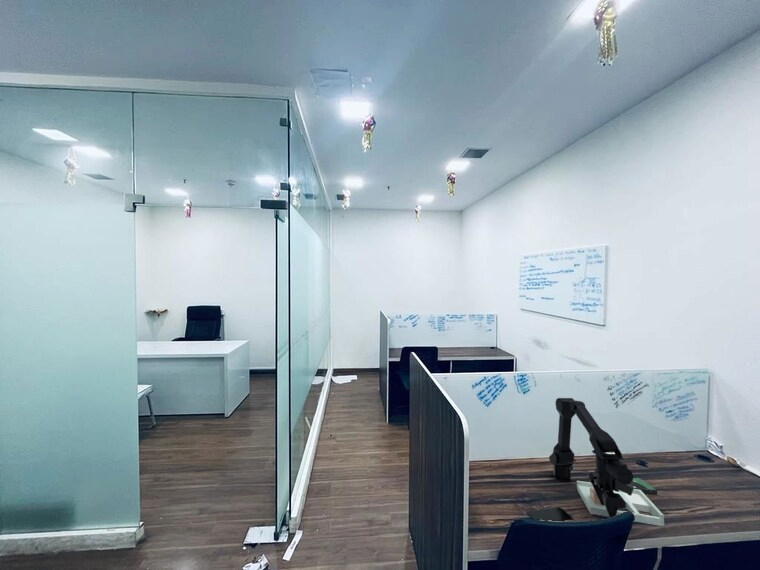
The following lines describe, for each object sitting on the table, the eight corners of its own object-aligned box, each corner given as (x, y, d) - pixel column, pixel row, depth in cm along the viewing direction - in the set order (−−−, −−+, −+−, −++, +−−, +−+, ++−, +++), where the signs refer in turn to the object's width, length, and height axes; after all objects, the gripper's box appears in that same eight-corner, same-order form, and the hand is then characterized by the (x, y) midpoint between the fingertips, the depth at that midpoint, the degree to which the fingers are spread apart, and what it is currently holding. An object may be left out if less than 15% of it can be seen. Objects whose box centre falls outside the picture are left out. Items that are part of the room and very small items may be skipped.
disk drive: (623, 495, 135) (658, 496, 135) (622, 489, 136) (657, 489, 135) (607, 482, 146) (639, 482, 145) (606, 476, 146) (639, 476, 145)
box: (590, 513, 122) (590, 503, 123) (577, 489, 139) (576, 480, 139) (664, 526, 115) (663, 515, 116) (641, 499, 131) (640, 489, 132)
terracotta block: (594, 503, 125) (593, 494, 125) (589, 496, 130) (589, 487, 130) (608, 505, 124) (608, 496, 124) (603, 498, 128) (603, 489, 129)
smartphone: (559, 508, 126) (525, 513, 123) (559, 506, 126) (525, 510, 123) (575, 521, 118) (538, 526, 115) (575, 519, 118) (538, 524, 116)
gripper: (642, 486, 109) (645, 533, 107) (619, 461, 126) (621, 501, 125) (605, 481, 112) (607, 526, 111) (587, 457, 130) (589, 496, 128)
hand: (607, 511), depth 119 cm, fingers open, 8 cm apart
